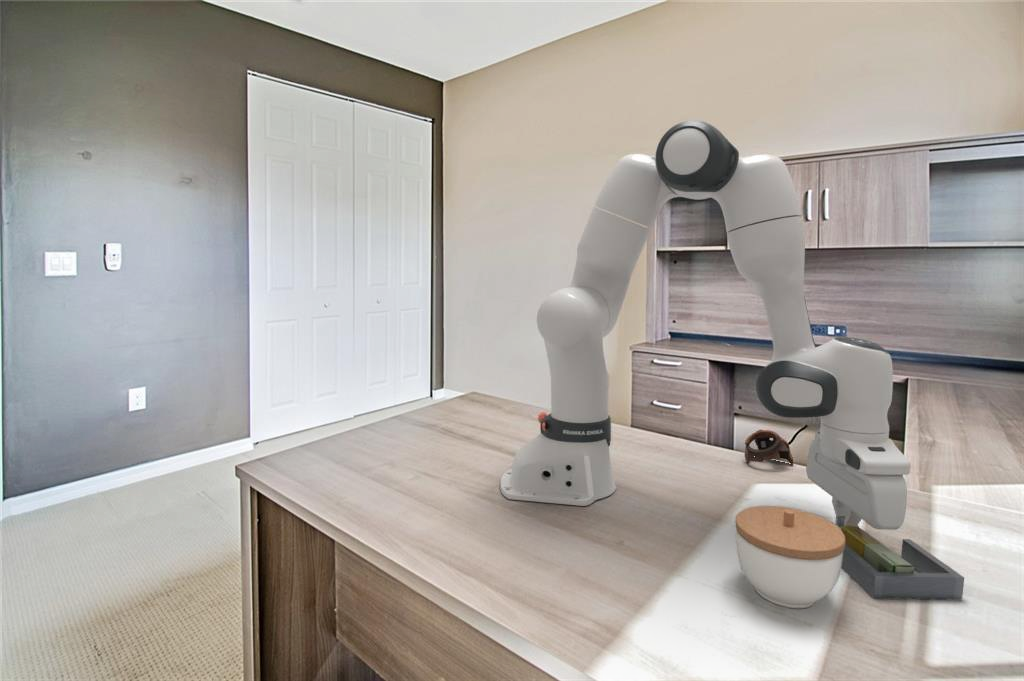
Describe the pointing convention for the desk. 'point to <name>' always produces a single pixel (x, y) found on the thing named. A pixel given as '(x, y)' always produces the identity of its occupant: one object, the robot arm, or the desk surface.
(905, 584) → the bracket
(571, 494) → the robot arm
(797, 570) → the lidded white bowl
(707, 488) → the desk surface
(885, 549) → the medication box
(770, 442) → the brown jagged ring
